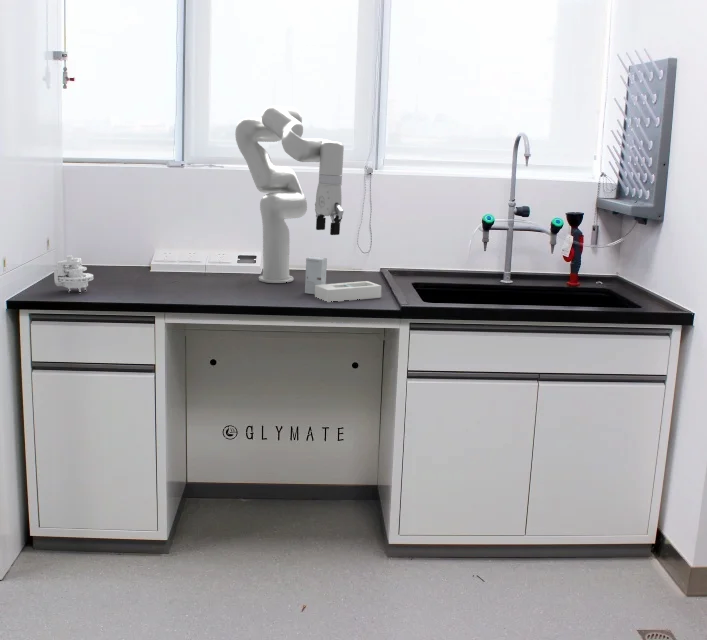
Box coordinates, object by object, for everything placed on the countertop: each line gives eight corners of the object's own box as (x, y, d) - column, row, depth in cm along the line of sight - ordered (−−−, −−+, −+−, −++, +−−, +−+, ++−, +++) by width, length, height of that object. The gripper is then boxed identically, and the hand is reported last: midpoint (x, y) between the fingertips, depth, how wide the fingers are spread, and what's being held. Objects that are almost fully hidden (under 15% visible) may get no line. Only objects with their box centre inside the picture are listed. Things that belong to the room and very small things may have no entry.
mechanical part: (82, 296, 253) (80, 259, 250) (48, 293, 255) (46, 257, 252) (100, 289, 263) (99, 254, 261) (68, 287, 266) (65, 252, 263)
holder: (315, 297, 261) (315, 285, 260) (367, 292, 270) (367, 281, 270) (327, 302, 253) (327, 290, 252) (380, 297, 263) (381, 285, 262)
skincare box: (304, 293, 266) (304, 257, 263) (310, 291, 270) (310, 256, 267) (320, 295, 264) (321, 259, 261) (326, 293, 268) (327, 257, 265)
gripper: (307, 177, 263) (305, 228, 267) (333, 183, 248) (330, 237, 253) (327, 177, 266) (324, 227, 271) (353, 183, 252) (350, 236, 257)
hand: (327, 232), depth 262 cm, fingers open, 9 cm apart
